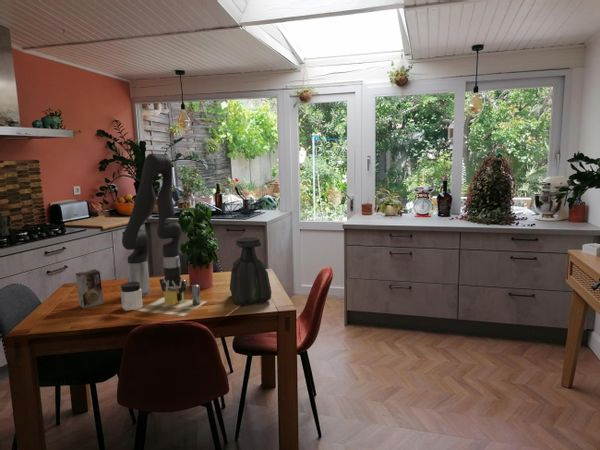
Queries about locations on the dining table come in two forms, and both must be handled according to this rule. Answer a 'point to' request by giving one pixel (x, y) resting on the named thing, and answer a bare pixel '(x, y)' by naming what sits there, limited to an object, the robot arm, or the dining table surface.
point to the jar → (131, 296)
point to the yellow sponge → (172, 297)
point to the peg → (195, 294)
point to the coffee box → (89, 288)
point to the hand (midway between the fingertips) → (174, 300)
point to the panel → (171, 307)
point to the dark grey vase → (249, 275)
